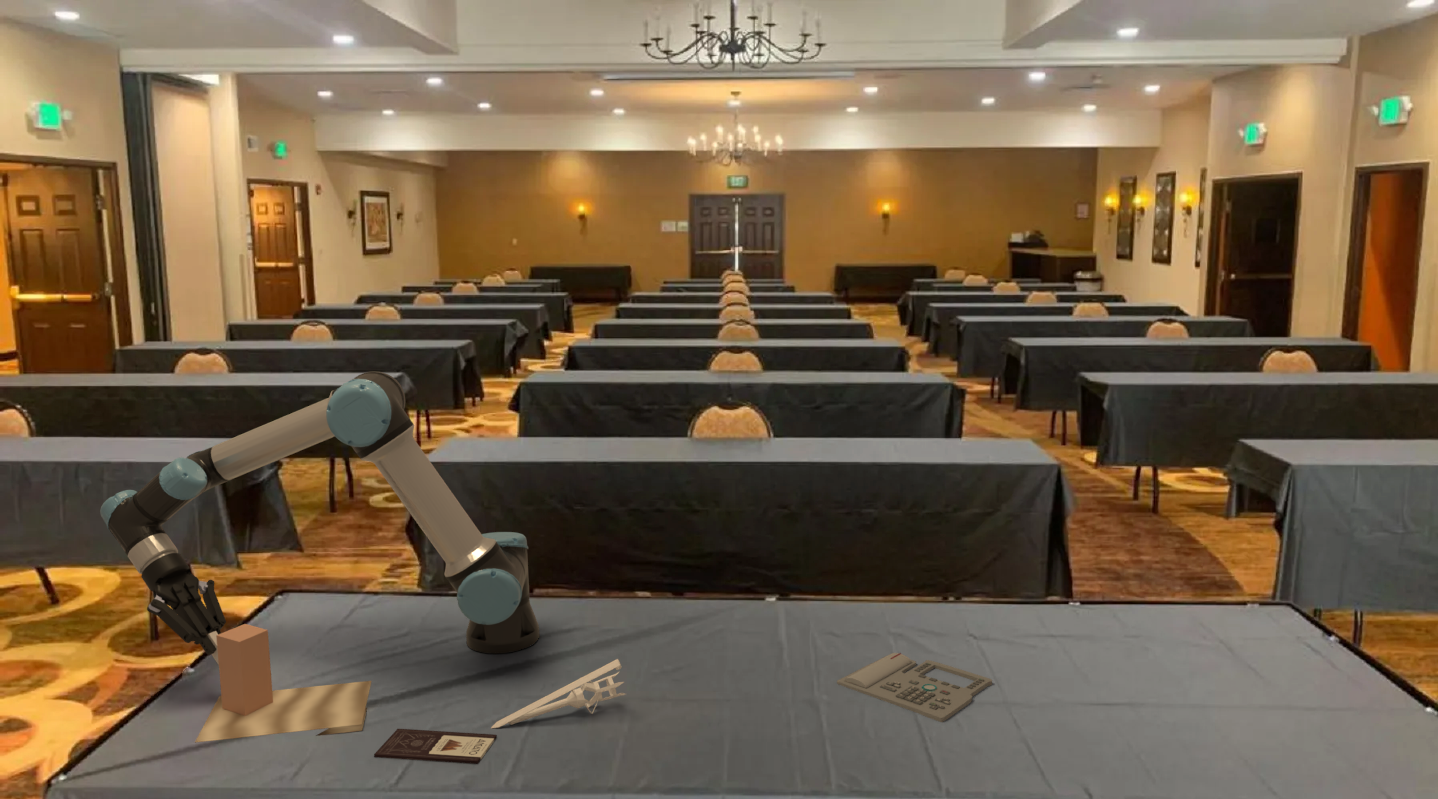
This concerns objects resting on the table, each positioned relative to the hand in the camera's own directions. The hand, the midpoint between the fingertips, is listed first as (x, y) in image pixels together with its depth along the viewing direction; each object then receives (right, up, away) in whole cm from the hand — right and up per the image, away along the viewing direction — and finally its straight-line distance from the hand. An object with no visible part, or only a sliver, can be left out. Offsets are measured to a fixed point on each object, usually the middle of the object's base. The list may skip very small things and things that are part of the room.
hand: (228, 664), depth 194 cm
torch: (+62, -9, -3) cm, 62 cm away
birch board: (+12, -9, -2) cm, 15 cm away
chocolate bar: (+42, -11, -14) cm, 45 cm away
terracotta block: (+4, -7, 0) cm, 8 cm away
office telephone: (+127, -7, +8) cm, 127 cm away
